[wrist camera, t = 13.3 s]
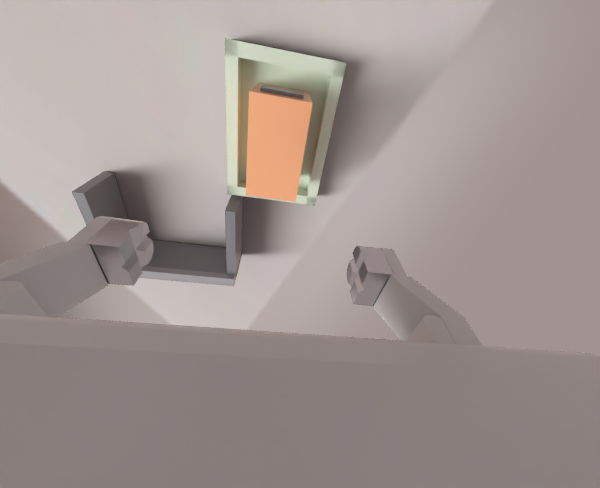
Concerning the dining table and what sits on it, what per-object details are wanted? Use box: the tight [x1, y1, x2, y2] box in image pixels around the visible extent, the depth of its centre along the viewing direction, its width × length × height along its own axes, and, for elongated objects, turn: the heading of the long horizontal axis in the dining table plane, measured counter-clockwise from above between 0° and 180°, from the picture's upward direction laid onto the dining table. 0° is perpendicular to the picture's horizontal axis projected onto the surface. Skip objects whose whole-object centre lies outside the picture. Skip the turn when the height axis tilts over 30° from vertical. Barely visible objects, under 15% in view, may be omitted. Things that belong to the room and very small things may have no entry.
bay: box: [72, 171, 243, 286], centre depth 29 cm, size 10×15×6 cm
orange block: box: [246, 83, 313, 202], centre depth 22 cm, size 8×4×6 cm, turn 171°
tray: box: [225, 38, 346, 206], centre depth 24 cm, size 13×10×2 cm
